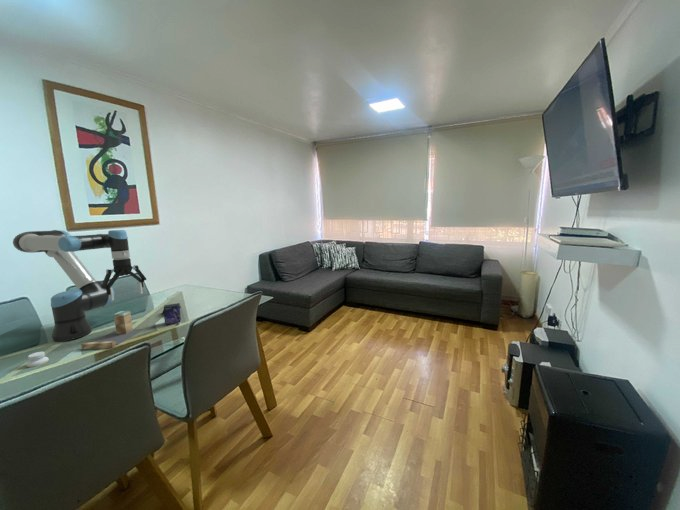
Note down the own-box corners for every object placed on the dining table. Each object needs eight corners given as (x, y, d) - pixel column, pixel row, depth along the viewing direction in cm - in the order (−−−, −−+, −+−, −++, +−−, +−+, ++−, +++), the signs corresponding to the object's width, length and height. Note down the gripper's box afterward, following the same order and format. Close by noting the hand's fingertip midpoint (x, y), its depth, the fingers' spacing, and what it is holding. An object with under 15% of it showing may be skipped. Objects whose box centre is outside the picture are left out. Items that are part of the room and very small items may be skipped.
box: (165, 325, 154) (162, 307, 152) (165, 322, 159) (163, 304, 157) (181, 322, 158) (179, 305, 156) (181, 319, 162) (179, 302, 161)
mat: (87, 346, 130) (87, 345, 130) (116, 330, 148) (115, 330, 148) (117, 344, 131) (117, 344, 131) (142, 329, 149) (142, 328, 148)
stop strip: (82, 349, 127) (81, 344, 127) (85, 347, 129) (84, 342, 129) (112, 347, 128) (112, 342, 127) (115, 345, 130) (115, 340, 129)
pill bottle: (54, 373, 121) (50, 349, 119) (46, 381, 115) (42, 355, 113) (35, 376, 118) (30, 352, 116) (25, 385, 112) (21, 359, 111)
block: (116, 334, 142) (113, 314, 141) (123, 330, 147) (120, 311, 146) (126, 333, 143) (123, 313, 141) (133, 329, 148) (130, 310, 146)
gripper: (95, 262, 131) (102, 304, 134) (150, 255, 153) (155, 291, 156) (88, 261, 135) (95, 302, 138) (143, 255, 157) (148, 290, 160)
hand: (127, 296), depth 147 cm, fingers open, 13 cm apart
